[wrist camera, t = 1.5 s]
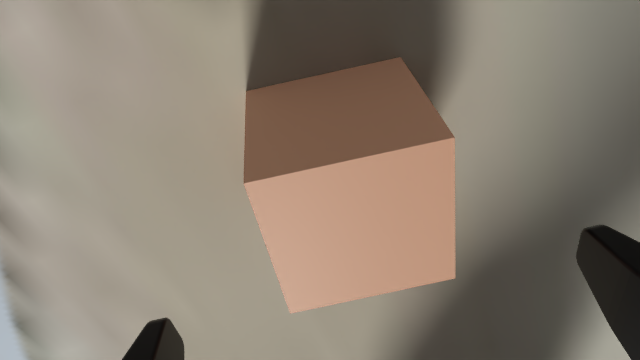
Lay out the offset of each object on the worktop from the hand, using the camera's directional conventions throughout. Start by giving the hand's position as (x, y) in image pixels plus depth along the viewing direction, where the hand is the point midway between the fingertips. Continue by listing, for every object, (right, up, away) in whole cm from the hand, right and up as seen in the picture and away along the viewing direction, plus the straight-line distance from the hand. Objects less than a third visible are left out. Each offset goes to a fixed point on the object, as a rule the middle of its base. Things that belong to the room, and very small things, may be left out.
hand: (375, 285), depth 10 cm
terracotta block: (-1, +4, +5) cm, 6 cm away
